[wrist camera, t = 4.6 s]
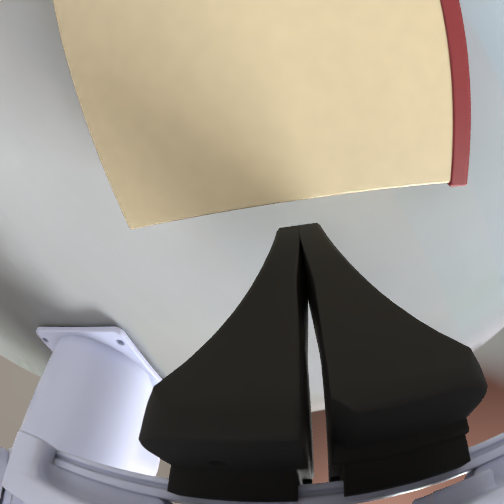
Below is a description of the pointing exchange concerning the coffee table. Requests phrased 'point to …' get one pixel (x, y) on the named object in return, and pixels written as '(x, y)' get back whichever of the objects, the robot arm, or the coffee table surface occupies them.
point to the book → (267, 99)
